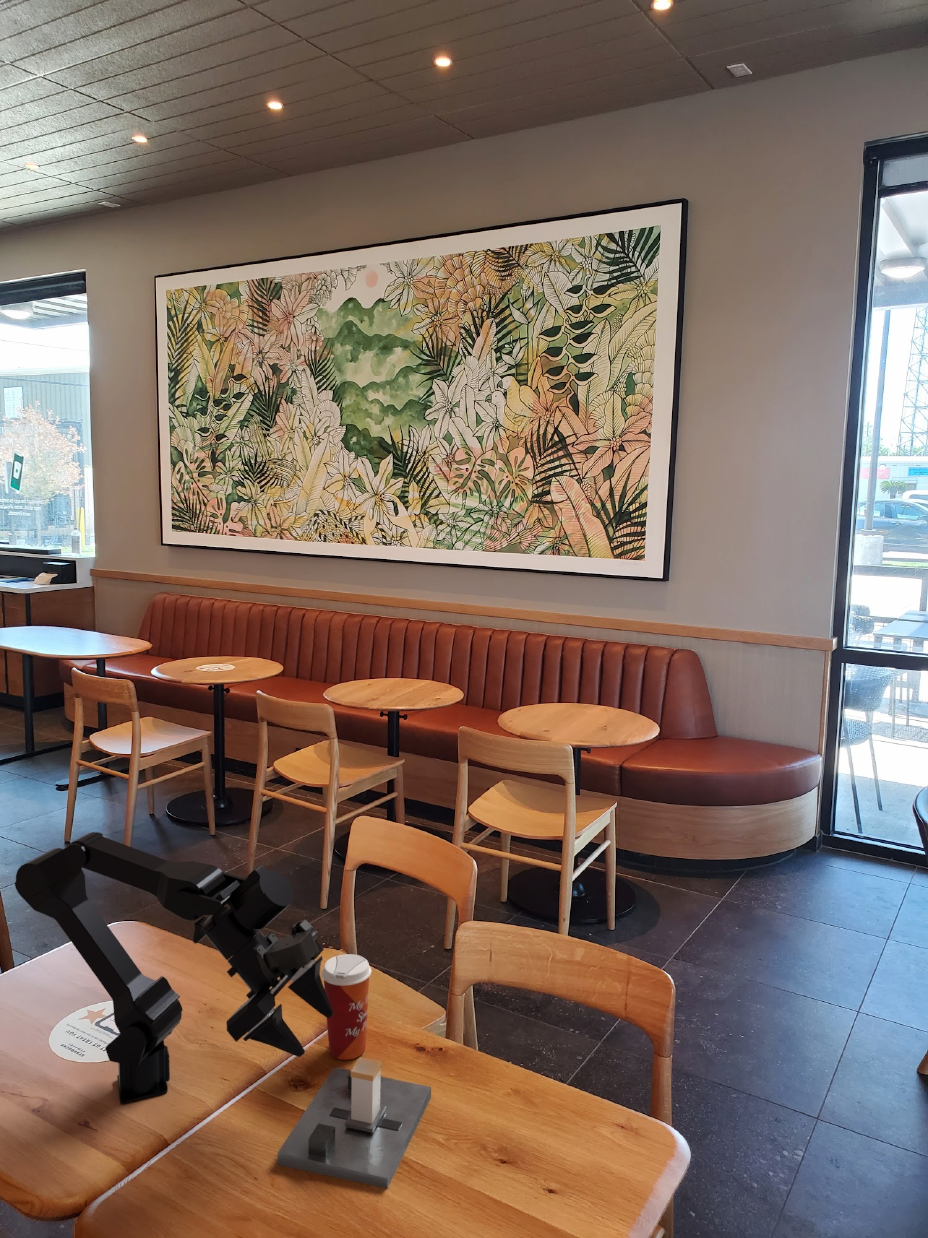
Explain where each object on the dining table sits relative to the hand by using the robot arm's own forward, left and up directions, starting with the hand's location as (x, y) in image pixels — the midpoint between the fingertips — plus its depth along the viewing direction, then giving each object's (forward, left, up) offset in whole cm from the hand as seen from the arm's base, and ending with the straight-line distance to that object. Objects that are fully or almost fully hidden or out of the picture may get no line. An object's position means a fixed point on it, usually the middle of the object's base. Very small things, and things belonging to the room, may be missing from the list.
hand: (317, 1034), depth 120 cm
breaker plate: (+5, -4, -13) cm, 14 cm away
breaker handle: (+6, -5, -11) cm, 13 cm away
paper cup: (+9, +14, -13) cm, 21 cm away
